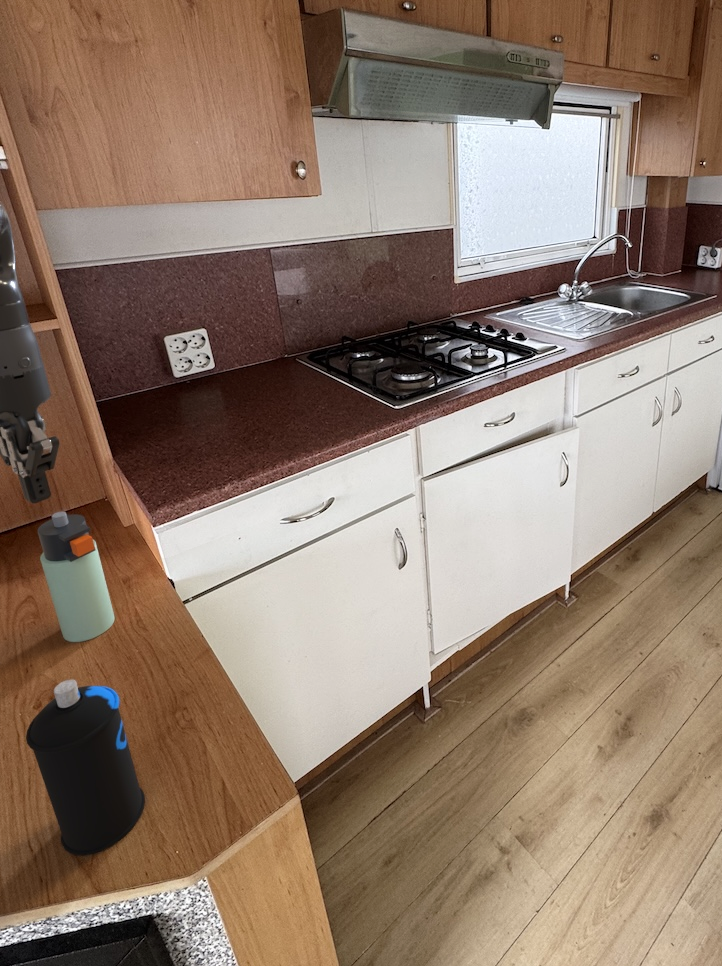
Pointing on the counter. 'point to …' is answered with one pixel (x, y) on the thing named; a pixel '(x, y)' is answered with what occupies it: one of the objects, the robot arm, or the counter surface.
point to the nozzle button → (82, 545)
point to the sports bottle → (74, 579)
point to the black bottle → (86, 767)
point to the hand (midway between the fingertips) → (39, 499)
